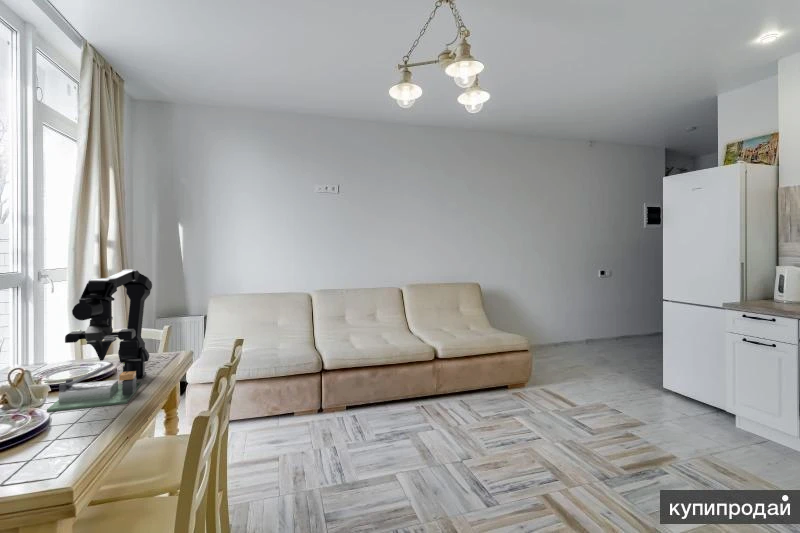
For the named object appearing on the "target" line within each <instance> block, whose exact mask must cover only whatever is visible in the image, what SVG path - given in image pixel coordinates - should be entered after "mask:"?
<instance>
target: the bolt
mask: <svg viewBox="0 0 800 533" xmlns="http://www.w3.org/2000/svg"><path fill="white" fill-rule="evenodd" d="M135 376H136V371H130V372H123V371H122V372H121V373H120V374H119V376H118V378H119V379H118V382H119V381H123V380H131V379H134V378H135Z"/></svg>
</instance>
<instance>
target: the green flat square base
mask: <svg viewBox="0 0 800 533" xmlns="http://www.w3.org/2000/svg"><path fill="white" fill-rule="evenodd" d="M72 381H74V378H67V379H65V382H64V383H60V384H58V386H59V387H58V390H59V391H58V399H57V401H55V402H54V403H53V404H51V405H50V406H49V407H47V409H46V412H48V413H49V412H58V411H68V410H76V409H79V410H80V409H85V408H86V409H87V408H96V407H105V406H106V407H107V406H114V405H124V404H127V403H129V402H130V400H131V398H132V397H133V396H134V395H135V393H136V392H137V391H138V389H139V388H140V387H141V386H142V382H139V381H138V382H137V378H136V376H135V378H134V379H131V380H121V381H122V382H121V383H119V379H113V380H103V381H101V380H100V381H90V382H77V383H75V384H73V385H71V386H69V387H67V383H69V382H72Z"/></svg>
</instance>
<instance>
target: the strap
mask: <svg viewBox="0 0 800 533" xmlns="http://www.w3.org/2000/svg"><path fill="white" fill-rule="evenodd" d="M112 366H114V364H113V362H110V363H108V364H107V365H104V366H102V367H101V368H98V369H95V370H94V371H92V372H89V373H87V374H84V375H82V376H80V377H79V378H76V379H73V381H72V382H69V383H67V387H69V386H71V385H73V384H77V383H81V381H85V380H86V379H88V378H91V377H92V376H95V375H97V374H99V373H101V372H103V371H106V370H108V369H110V368H111V367H112Z"/></svg>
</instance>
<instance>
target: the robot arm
mask: <svg viewBox="0 0 800 533" xmlns="http://www.w3.org/2000/svg"><path fill="white" fill-rule="evenodd" d="M122 286H123V287H124V288H125V289H126V290H125V291H126V295H127V297H128V298H129V300H130V301H129V308H128V319H127V328H122V329H121V330H119V331H114V330H113V318H114V317H113V313H112V312H113V305H112V303H113V302H112V301H115V297H114V296H113V295H114V294H115V293H116V292H118V289H119V287H122ZM152 288H153V282H152V281H151V280H150V278H149V277H148V276H146V275H144V274H142V273H140V272H139V270H136V269H122V270H121V271H119V272H117V273H115V274H113V275H110V276H107V277H97V278H92V279H90V280H88V281H87V283H86V284H85V288H84V289H83V292H82V294H81V296H80V299H79V300H78V303H76V304H75V305H74V306H73V308H72V310H71V313H72V316H73V317H74V318H75V319H76V320H78V321H87V320H89V325H88V326H87V328H86V330H79V331H77V330H75V331H71V332H68V333H67V334H66V335H65V338H64V343H65V344H69V343H70V344H71V343H77V342H78V341H79V340H85V343H86V345H90V346H92V348H93V349H94V351H95V353H96V355H97V357H98V359H99V361H100V362H101V361H104V360H105V358H106V357H107V356H106V355H107V353H108V351H109V348H110V347H111V344H112V343H113V342H115V341H116V340H117V339H118V340H120V341H119V348H118V350H117V351H118V352H117V354H118V359H119V363H120V364H123V363H125V365H123V366H122V372H130V371H136V379H142V378H143V377H144V376H146V375H147V374H146V373H147V372H146V369H145V367H146V363H147V362H148V361H149V359H150V353H149V351H148V350H147V348H146V342H145V340H144V339H143V338H142V330H143V322H144V320H143V319H144V311H145V310H144V309H145V301H146V300H147V298H149V296H150V295H151V292H152V291H151V290H152ZM113 331H114V332H113ZM145 362H146V363H145Z"/></svg>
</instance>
